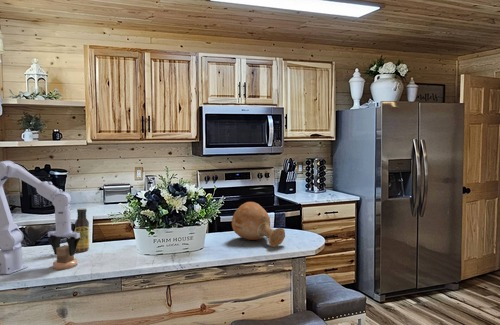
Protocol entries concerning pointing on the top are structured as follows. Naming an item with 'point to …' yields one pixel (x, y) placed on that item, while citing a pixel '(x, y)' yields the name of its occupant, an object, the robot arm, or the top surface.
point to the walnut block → (64, 254)
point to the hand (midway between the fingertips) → (64, 254)
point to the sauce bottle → (82, 230)
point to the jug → (255, 224)
